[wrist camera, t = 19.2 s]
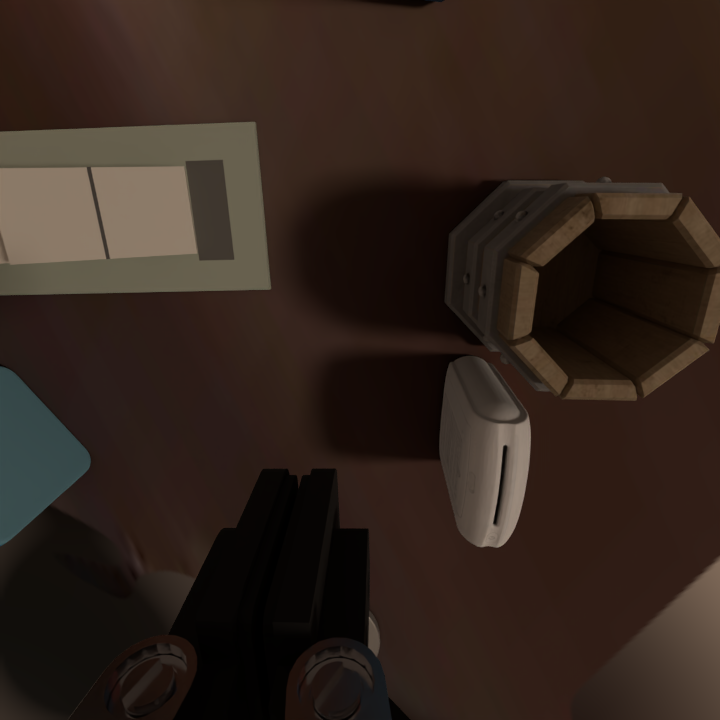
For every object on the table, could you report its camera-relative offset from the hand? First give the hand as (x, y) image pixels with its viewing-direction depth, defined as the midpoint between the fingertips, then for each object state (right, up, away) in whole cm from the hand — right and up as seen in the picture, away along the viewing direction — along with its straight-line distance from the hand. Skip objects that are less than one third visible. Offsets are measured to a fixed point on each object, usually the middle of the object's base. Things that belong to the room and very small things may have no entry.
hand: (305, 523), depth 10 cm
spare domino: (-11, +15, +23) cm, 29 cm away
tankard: (+18, +11, +24) cm, 32 cm away
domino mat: (-22, +15, +24) cm, 36 cm away
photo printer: (+10, -1, +29) cm, 31 cm away
